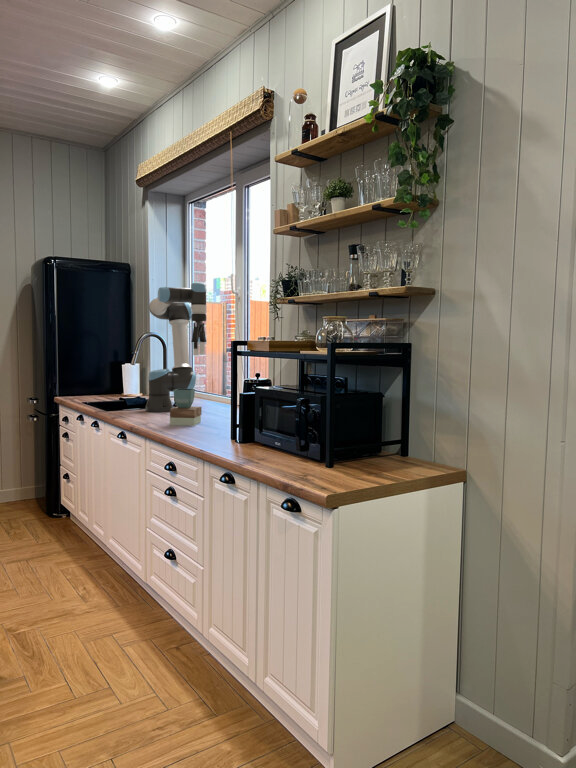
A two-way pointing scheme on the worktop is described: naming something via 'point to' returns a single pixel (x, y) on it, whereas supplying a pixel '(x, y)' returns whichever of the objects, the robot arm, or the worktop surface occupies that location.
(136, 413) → the worktop surface
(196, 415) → the tower top
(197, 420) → the tower base
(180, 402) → the flower pot
